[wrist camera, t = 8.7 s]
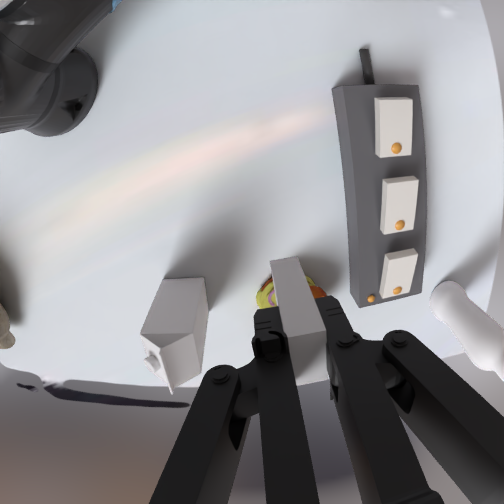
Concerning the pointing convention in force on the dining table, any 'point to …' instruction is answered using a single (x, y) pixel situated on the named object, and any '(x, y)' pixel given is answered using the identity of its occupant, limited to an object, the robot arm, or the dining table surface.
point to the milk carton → (176, 330)
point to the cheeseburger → (268, 297)
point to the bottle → (470, 326)
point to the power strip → (377, 185)
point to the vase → (5, 330)
